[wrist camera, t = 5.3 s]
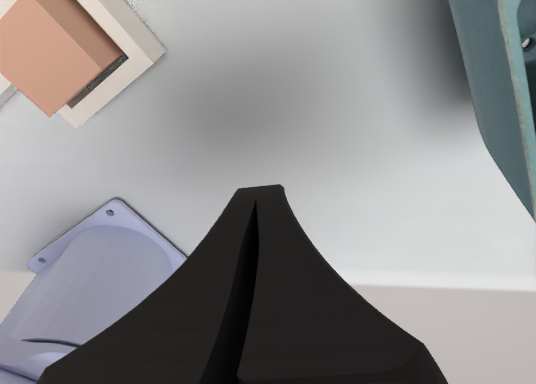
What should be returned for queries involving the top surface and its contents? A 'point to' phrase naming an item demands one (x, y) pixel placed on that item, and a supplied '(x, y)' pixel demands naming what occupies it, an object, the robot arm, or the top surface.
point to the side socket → (6, 89)
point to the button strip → (127, 38)
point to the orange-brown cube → (53, 50)
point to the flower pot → (503, 84)
